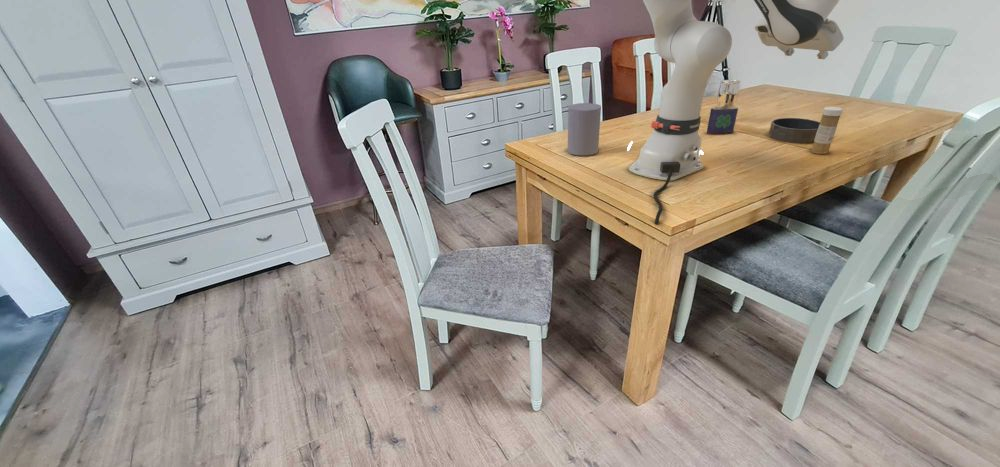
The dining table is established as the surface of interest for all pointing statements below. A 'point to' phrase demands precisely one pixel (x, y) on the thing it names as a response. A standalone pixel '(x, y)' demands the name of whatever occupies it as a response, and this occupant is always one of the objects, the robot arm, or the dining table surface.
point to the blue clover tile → (722, 120)
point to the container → (583, 129)
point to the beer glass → (728, 93)
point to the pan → (794, 130)
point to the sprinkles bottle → (826, 130)
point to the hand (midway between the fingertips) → (806, 55)
